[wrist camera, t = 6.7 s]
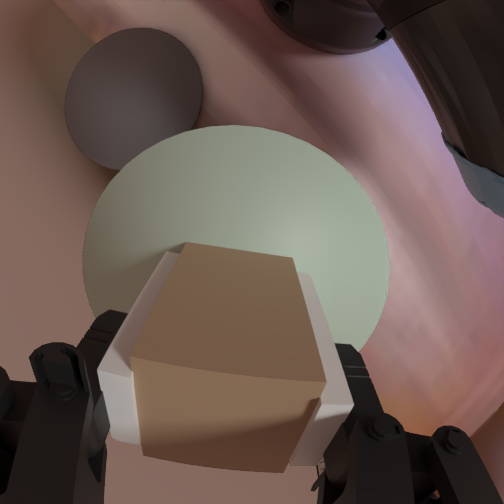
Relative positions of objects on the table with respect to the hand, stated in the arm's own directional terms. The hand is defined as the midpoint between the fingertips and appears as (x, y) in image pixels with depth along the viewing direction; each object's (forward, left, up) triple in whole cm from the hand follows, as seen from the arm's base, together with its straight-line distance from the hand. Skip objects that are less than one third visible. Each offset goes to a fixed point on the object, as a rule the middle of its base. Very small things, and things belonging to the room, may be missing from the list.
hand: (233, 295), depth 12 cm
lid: (0, 0, -1) cm, 1 cm away
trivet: (-8, -13, -21) cm, 26 cm away
